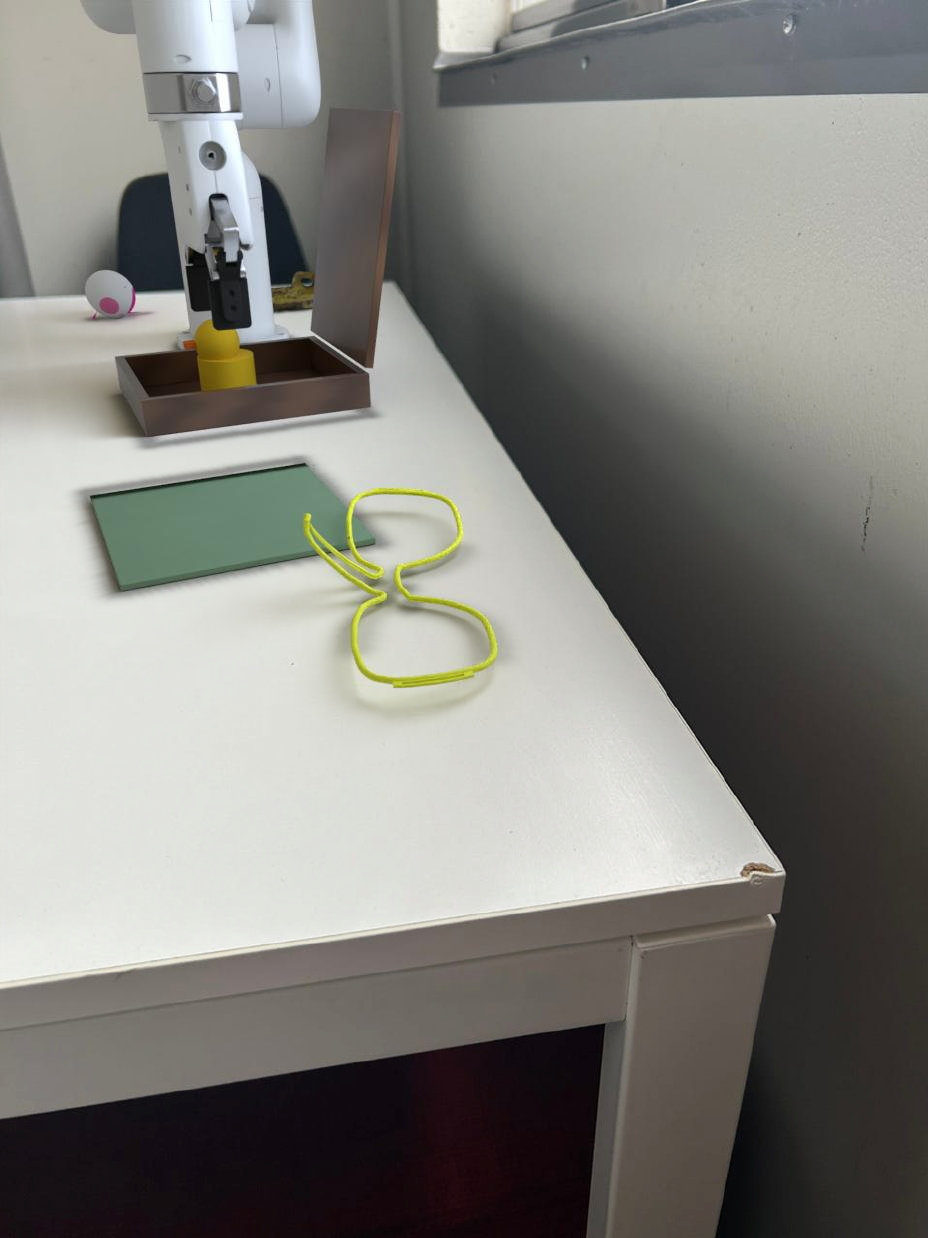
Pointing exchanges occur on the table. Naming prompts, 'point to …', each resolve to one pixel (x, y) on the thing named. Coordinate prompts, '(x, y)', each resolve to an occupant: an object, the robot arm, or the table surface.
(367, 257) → the lid
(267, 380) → the chest
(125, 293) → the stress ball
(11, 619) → the table surface
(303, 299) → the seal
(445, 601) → the glasses
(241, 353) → the duck
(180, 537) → the mat
